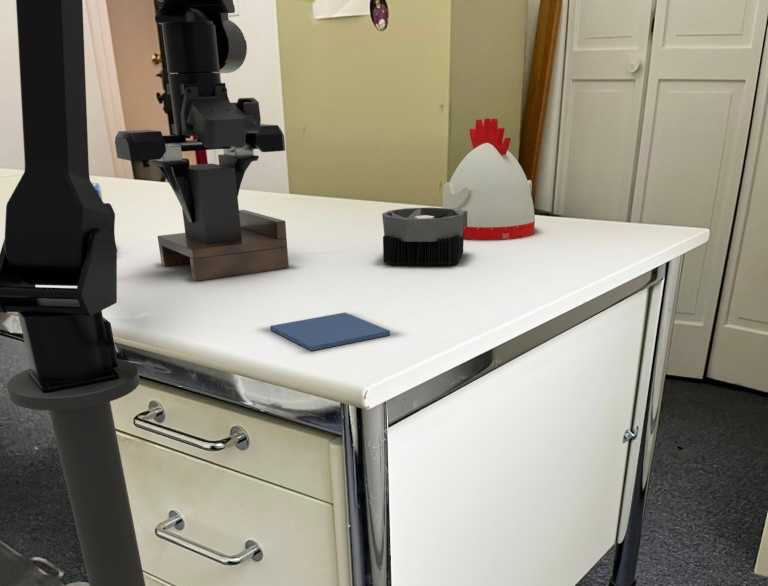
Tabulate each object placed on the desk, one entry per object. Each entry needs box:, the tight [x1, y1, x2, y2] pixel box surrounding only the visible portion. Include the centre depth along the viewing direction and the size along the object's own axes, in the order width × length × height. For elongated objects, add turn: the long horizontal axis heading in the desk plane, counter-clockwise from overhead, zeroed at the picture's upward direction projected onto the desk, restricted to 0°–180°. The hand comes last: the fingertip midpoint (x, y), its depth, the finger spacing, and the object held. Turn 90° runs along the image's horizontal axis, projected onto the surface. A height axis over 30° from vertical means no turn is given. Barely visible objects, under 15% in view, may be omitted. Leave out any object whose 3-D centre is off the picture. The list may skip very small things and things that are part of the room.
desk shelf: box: [157, 209, 290, 282], centre depth 99 cm, size 12×12×6 cm
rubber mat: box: [269, 312, 391, 352], centre depth 73 cm, size 8×8×1 cm
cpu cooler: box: [381, 206, 467, 266], centre depth 100 cm, size 10×6×10 cm
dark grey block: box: [181, 163, 242, 244], centre depth 96 cm, size 4×7×8 cm, turn 33°
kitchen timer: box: [441, 117, 536, 241], centre depth 115 cm, size 14×14×15 cm
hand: (211, 220), depth 97 cm, fingers closed on dark grey block, 4 cm apart
